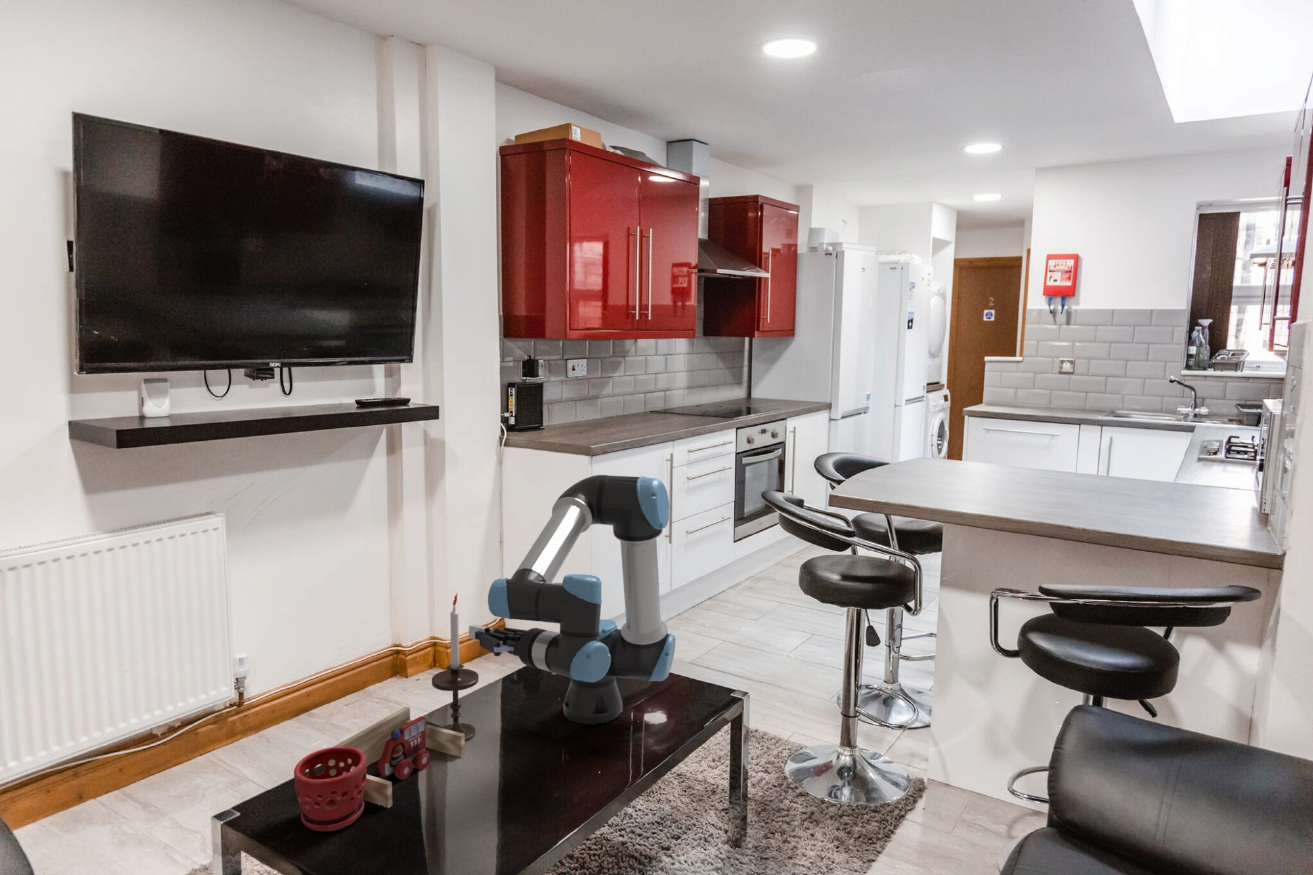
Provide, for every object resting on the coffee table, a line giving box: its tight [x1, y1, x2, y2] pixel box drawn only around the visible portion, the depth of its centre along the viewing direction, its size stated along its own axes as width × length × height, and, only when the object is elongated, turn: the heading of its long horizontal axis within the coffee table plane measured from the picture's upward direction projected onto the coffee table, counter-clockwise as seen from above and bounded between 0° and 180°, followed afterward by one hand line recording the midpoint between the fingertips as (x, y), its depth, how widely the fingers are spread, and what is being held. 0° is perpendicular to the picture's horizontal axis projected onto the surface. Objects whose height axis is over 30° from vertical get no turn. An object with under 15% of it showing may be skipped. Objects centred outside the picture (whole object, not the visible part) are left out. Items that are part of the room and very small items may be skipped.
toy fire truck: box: [377, 716, 432, 780], centre depth 180 cm, size 7×12×10 cm, turn 149°
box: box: [328, 706, 466, 809], centre depth 180 cm, size 17×24×8 cm
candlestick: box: [431, 593, 479, 743], centre depth 195 cm, size 11×11×35 cm
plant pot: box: [293, 746, 368, 832], centre depth 161 cm, size 13×13×12 cm
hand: (471, 631), depth 178 cm, fingers closed
